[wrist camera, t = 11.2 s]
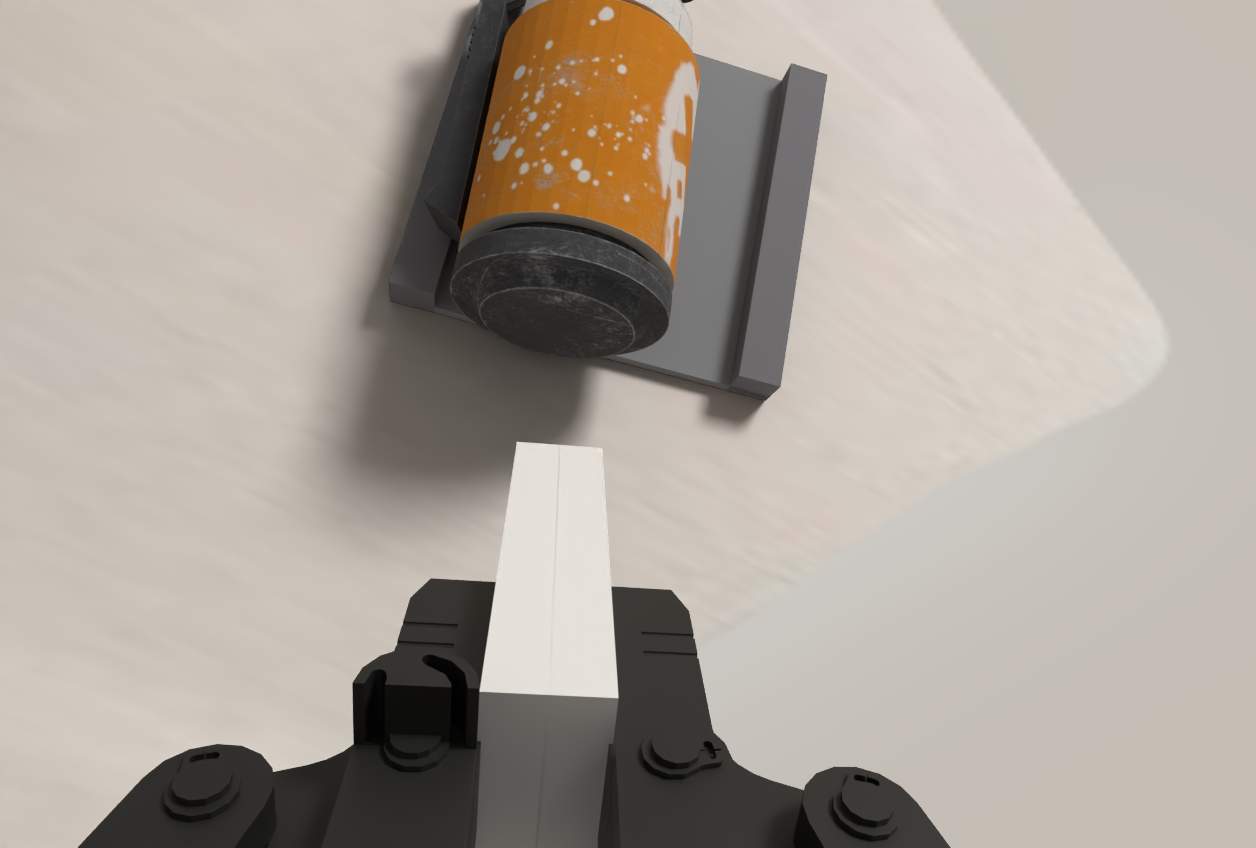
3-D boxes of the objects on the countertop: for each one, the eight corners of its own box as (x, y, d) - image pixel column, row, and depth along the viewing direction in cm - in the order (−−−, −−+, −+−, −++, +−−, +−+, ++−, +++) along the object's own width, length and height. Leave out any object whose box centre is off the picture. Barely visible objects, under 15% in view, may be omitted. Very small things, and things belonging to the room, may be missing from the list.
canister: (661, 279, 31) (716, -137, 38) (362, 258, 33) (465, -140, 39) (672, 378, 40) (715, 23, 46) (433, 358, 41) (508, 16, 48)
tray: (390, 301, 40) (388, 281, 39) (488, -3, 46) (490, -33, 45) (765, 400, 43) (780, 386, 41) (812, 98, 49) (827, 74, 47)
